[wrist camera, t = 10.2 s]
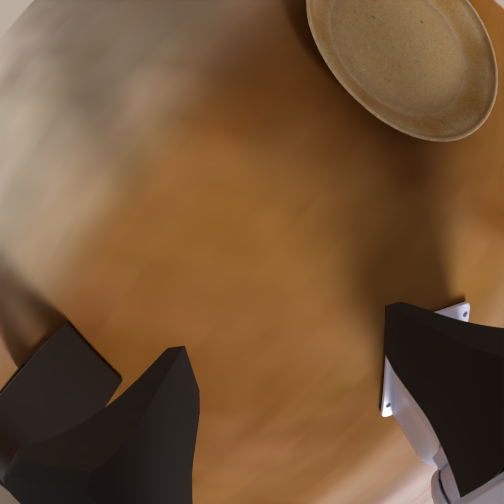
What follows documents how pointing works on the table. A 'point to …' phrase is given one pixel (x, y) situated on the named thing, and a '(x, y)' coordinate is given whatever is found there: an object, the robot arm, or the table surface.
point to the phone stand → (52, 393)
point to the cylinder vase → (6, 497)
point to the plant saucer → (410, 62)
